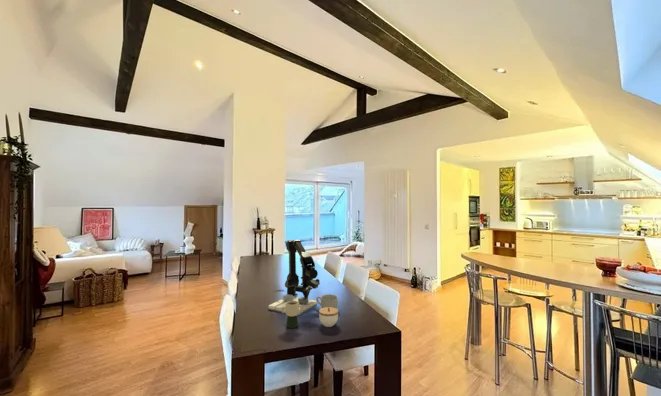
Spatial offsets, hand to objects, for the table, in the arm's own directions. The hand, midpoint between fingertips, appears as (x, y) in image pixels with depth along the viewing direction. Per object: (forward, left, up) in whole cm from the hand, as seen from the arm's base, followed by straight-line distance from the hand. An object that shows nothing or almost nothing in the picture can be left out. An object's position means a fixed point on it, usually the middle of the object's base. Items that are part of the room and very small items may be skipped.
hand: (306, 299), depth 192 cm
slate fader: (+4, -12, -3) cm, 13 cm away
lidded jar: (+19, +27, -4) cm, 33 cm away
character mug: (+31, +11, -4) cm, 33 cm away
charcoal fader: (+4, 0, -3) cm, 5 cm away
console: (+6, -6, -4) cm, 10 cm away
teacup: (-1, +15, -4) cm, 16 cm away
